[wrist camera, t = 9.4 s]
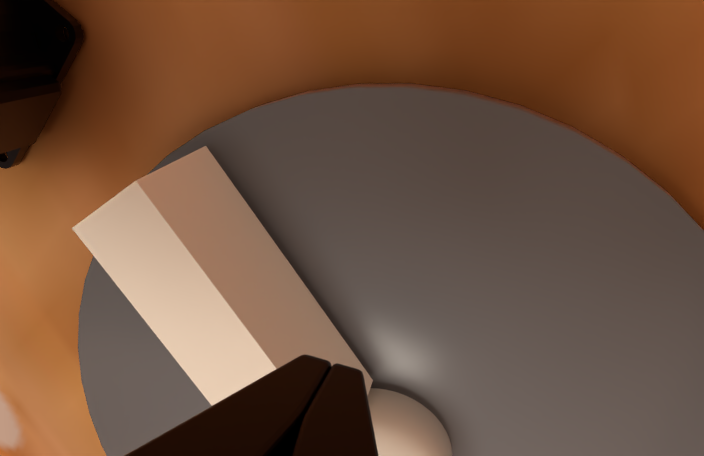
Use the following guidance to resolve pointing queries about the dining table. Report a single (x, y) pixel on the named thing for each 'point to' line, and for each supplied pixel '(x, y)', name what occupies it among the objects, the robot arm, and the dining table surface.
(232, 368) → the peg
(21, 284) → the dining table surface
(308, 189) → the round gray plate
